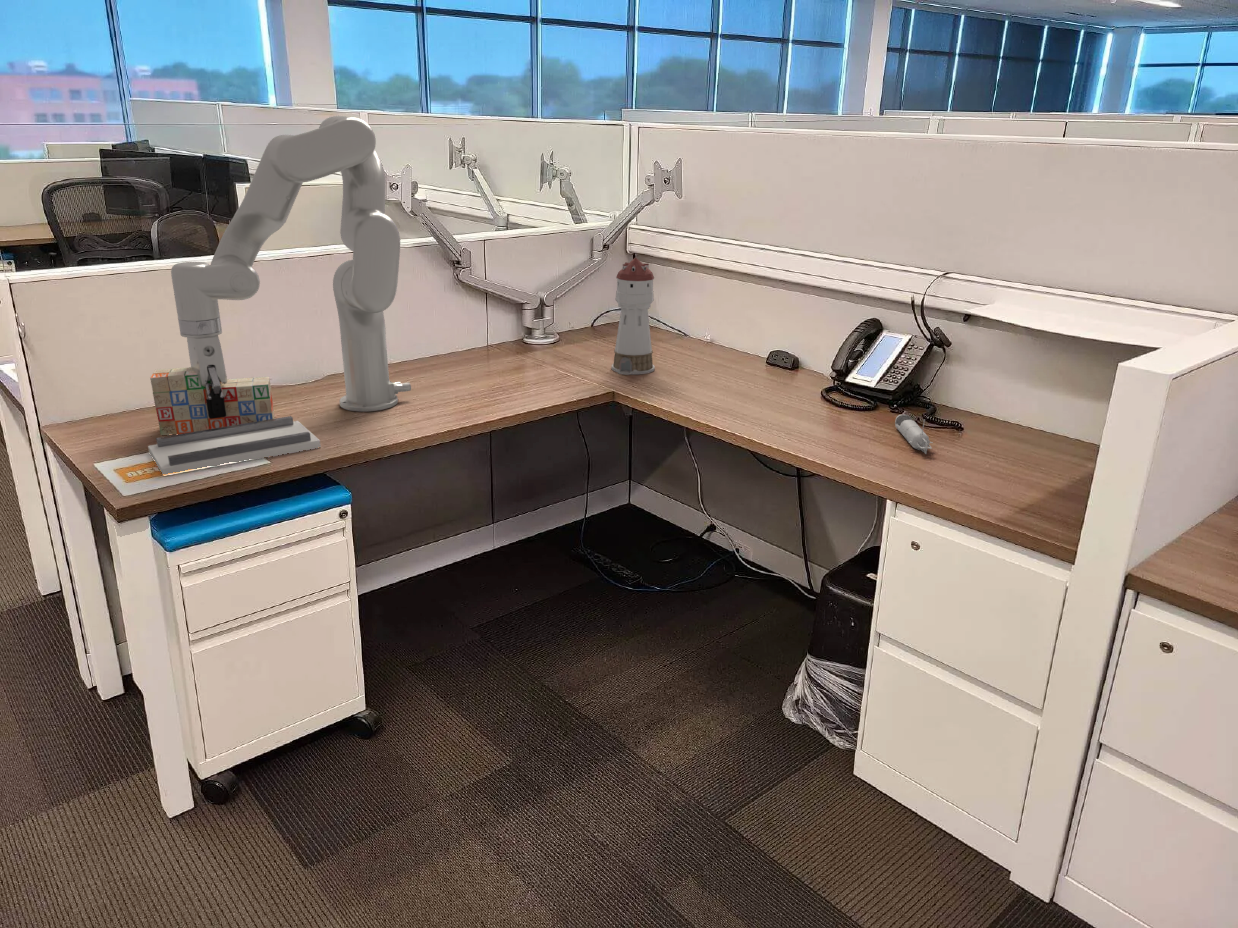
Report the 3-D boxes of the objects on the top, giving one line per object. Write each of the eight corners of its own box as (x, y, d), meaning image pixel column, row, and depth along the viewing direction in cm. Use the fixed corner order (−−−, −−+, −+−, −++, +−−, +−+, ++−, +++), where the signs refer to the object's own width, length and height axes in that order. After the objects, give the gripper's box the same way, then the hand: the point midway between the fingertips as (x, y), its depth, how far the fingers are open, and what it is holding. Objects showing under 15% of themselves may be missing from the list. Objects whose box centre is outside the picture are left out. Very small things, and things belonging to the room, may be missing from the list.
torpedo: (888, 427, 193) (892, 398, 190) (910, 428, 193) (914, 399, 191) (913, 457, 176) (918, 425, 174) (937, 457, 176) (942, 426, 174)
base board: (298, 427, 184) (297, 413, 183) (320, 447, 174) (319, 433, 173) (149, 453, 169) (146, 438, 168) (163, 476, 159) (160, 461, 158)
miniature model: (655, 364, 237) (660, 249, 226) (652, 376, 226) (656, 256, 215) (614, 362, 238) (616, 247, 227) (608, 374, 227) (610, 254, 216)
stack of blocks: (275, 418, 190) (268, 362, 185) (274, 428, 184) (266, 370, 180) (164, 426, 184) (154, 368, 179) (159, 436, 178) (149, 376, 174)
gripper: (231, 333, 171) (243, 420, 178) (210, 316, 185) (222, 398, 191) (189, 337, 167) (202, 427, 174) (171, 320, 181) (184, 403, 187)
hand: (212, 411), depth 182 cm, fingers closed on stack of blocks, 7 cm apart
